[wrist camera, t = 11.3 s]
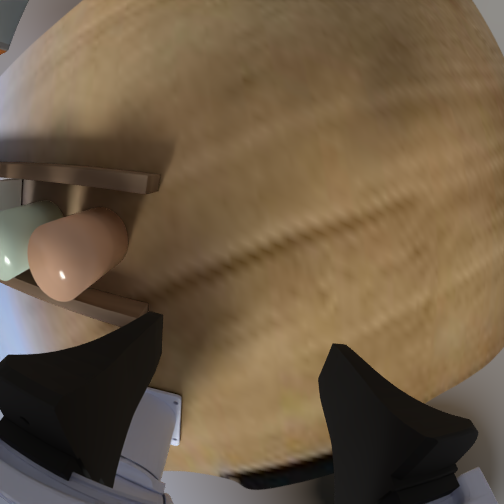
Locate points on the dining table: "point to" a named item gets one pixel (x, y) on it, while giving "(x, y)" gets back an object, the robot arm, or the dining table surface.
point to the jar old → (21, 234)
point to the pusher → (10, 193)
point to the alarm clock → (9, 20)
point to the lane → (123, 180)
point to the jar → (76, 251)
